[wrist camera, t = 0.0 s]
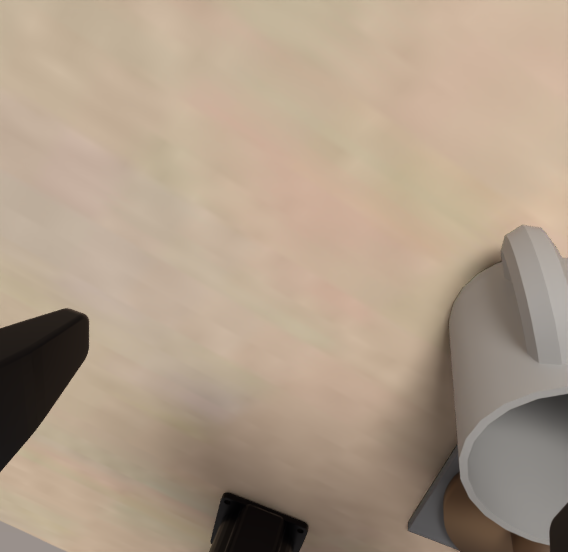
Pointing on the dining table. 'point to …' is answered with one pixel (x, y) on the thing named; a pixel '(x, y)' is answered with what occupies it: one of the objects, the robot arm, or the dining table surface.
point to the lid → (479, 526)
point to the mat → (435, 506)
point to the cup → (514, 384)
